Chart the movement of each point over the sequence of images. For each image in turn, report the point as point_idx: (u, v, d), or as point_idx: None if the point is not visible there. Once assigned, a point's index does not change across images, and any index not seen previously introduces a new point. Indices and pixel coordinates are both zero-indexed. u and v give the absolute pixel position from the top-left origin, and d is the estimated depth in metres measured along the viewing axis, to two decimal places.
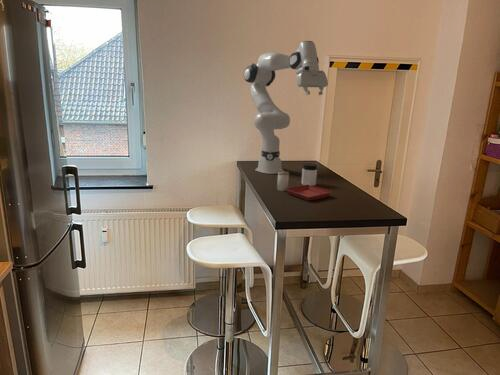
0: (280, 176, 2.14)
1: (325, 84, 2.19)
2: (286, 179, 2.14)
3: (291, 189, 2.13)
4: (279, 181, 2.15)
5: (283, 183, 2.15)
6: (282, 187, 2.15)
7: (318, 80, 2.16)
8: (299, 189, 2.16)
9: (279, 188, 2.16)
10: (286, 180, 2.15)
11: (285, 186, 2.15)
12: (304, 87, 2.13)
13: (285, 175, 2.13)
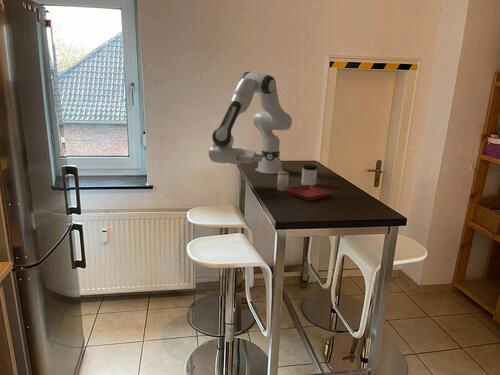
0: (280, 176, 2.14)
1: None
2: (286, 179, 2.14)
3: (291, 189, 2.13)
4: (279, 181, 2.15)
5: (283, 183, 2.15)
6: (282, 187, 2.15)
7: None
8: (299, 189, 2.16)
9: (279, 188, 2.16)
10: (286, 180, 2.15)
11: (285, 186, 2.15)
12: None
13: (285, 175, 2.13)
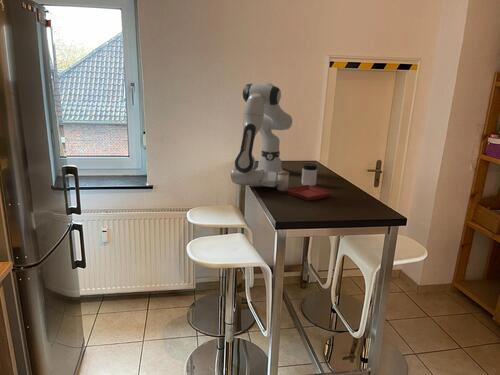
0: (280, 176, 2.14)
1: None
2: (286, 179, 2.14)
3: (291, 189, 2.13)
4: None
5: None
6: (282, 187, 2.15)
7: None
8: (299, 189, 2.16)
9: (279, 188, 2.16)
10: (286, 180, 2.15)
11: (285, 186, 2.15)
12: None
13: (285, 175, 2.13)
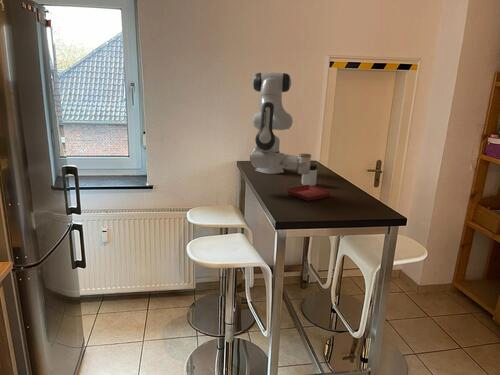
0: (302, 158, 2.03)
1: None
2: (308, 162, 2.04)
3: (291, 189, 2.13)
4: None
5: (305, 166, 2.04)
6: (304, 170, 2.04)
7: None
8: (299, 189, 2.16)
9: (300, 171, 2.05)
10: (308, 163, 2.04)
11: (307, 169, 2.05)
12: None
13: (307, 157, 2.03)
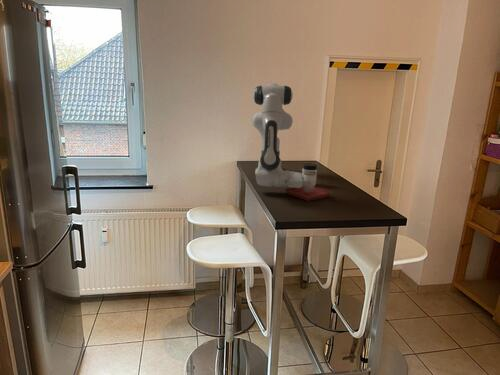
0: (307, 176, 2.04)
1: None
2: (313, 179, 2.05)
3: (291, 189, 2.13)
4: None
5: None
6: (309, 188, 2.05)
7: None
8: (299, 189, 2.16)
9: (305, 189, 2.06)
10: (313, 181, 2.05)
11: (312, 187, 2.06)
12: None
13: (312, 175, 2.04)
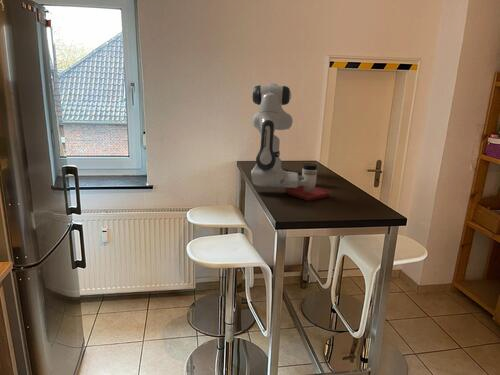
0: (307, 176, 2.04)
1: None
2: (313, 179, 2.05)
3: (291, 189, 2.13)
4: None
5: (310, 184, 2.05)
6: (309, 188, 2.05)
7: None
8: (299, 189, 2.16)
9: (306, 189, 2.06)
10: (313, 181, 2.05)
11: (312, 187, 2.06)
12: None
13: (312, 175, 2.04)
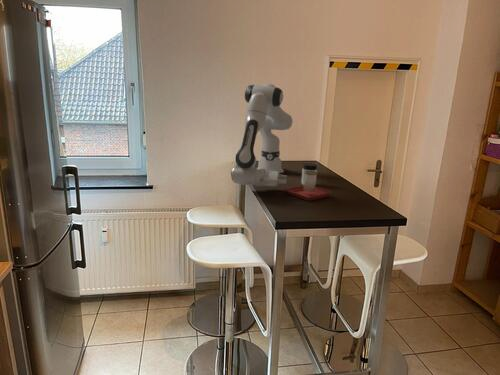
0: (307, 176, 2.04)
1: None
2: (313, 179, 2.05)
3: (291, 189, 2.13)
4: (306, 181, 2.05)
5: (310, 183, 2.05)
6: (309, 188, 2.05)
7: None
8: (299, 189, 2.16)
9: (305, 188, 2.06)
10: (313, 181, 2.05)
11: (312, 187, 2.06)
12: None
13: (313, 175, 2.04)
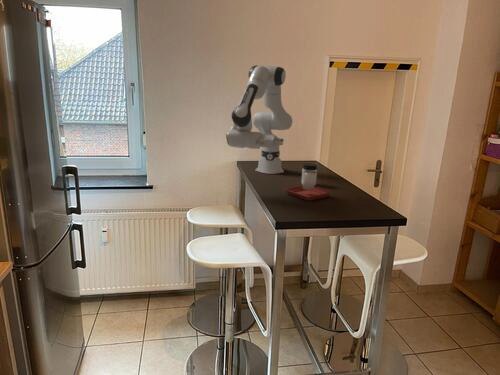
0: (306, 174, 2.06)
1: None
2: (312, 177, 2.05)
3: (291, 189, 2.13)
4: (304, 179, 2.07)
5: (308, 181, 2.05)
6: (307, 185, 2.06)
7: None
8: (299, 189, 2.16)
9: (304, 186, 2.07)
10: (312, 179, 2.05)
11: (310, 185, 2.06)
12: None
13: (311, 173, 2.05)
